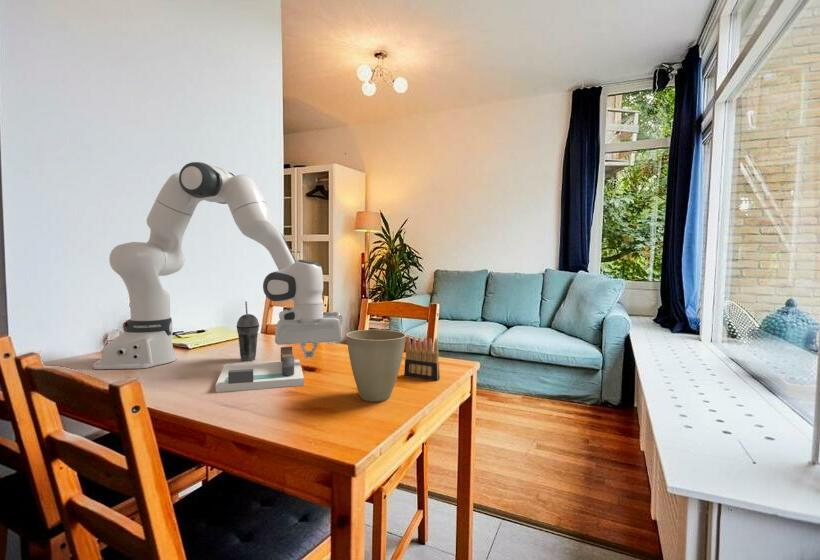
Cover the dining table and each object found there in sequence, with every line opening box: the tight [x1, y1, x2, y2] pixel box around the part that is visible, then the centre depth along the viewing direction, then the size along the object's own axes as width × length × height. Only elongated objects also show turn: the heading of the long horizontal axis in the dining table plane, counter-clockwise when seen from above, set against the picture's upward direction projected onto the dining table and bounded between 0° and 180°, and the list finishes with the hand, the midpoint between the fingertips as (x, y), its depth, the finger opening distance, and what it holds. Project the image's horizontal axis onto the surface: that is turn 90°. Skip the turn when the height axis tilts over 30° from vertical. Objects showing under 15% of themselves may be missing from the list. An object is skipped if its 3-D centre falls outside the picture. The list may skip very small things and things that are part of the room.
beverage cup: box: [236, 301, 260, 362], centre depth 141 cm, size 7×7×20 cm
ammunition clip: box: [403, 335, 441, 382], centre depth 123 cm, size 11×2×12 cm, turn 64°
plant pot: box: [346, 329, 407, 403], centre depth 105 cm, size 15×15×16 cm
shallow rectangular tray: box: [215, 359, 305, 393], centre depth 121 cm, size 22×22×5 cm
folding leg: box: [280, 346, 295, 376], centre depth 123 cm, size 18×3×5 cm, turn 18°
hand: (309, 357), depth 130 cm, fingers closed
